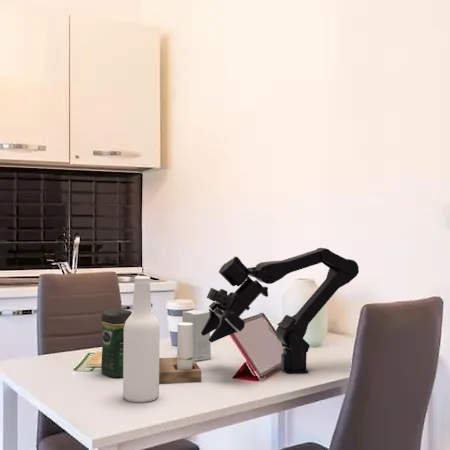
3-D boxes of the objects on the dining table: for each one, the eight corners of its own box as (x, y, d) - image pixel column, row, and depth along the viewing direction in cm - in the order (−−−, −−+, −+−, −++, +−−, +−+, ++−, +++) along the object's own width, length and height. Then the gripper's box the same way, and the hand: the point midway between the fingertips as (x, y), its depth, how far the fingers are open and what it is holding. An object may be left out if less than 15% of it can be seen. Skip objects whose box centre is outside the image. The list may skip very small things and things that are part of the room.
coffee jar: (138, 375, 165) (139, 309, 165) (113, 379, 160) (114, 312, 160) (121, 368, 173) (121, 305, 172) (96, 372, 168) (97, 307, 167)
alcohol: (128, 405, 139) (129, 278, 139) (119, 394, 147) (120, 275, 147) (163, 400, 143) (164, 277, 142) (153, 390, 151) (154, 274, 150)
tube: (177, 379, 161) (177, 325, 161) (176, 375, 165) (177, 322, 165) (192, 379, 162) (193, 325, 161) (192, 375, 166) (192, 322, 166)
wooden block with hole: (192, 366, 175) (192, 356, 175) (201, 381, 159) (201, 370, 159) (145, 368, 172) (145, 358, 172) (149, 384, 156) (149, 373, 156)
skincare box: (211, 359, 185) (211, 312, 184) (194, 361, 181) (195, 313, 181) (197, 353, 192) (198, 308, 191) (181, 356, 188) (181, 310, 188)
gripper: (215, 274, 175) (179, 313, 172) (233, 281, 157) (193, 324, 154) (241, 300, 177) (205, 338, 175) (261, 309, 159) (222, 352, 157)
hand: (205, 337), depth 165 cm, fingers open, 9 cm apart
